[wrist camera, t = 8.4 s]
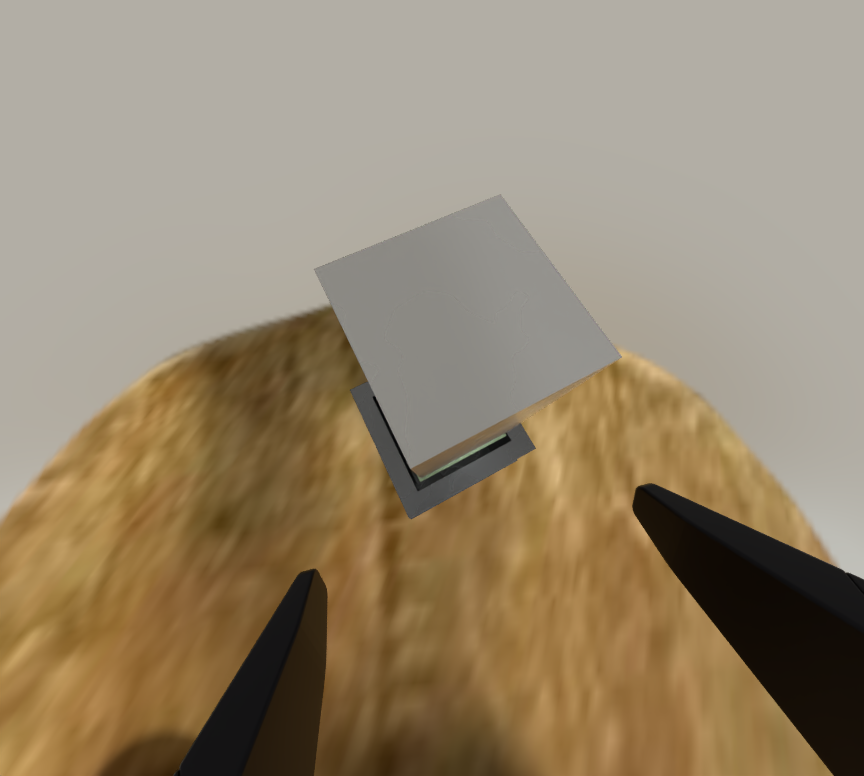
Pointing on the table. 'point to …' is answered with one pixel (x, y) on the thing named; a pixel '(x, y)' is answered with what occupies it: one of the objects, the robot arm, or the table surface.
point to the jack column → (463, 331)
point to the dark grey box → (445, 482)
